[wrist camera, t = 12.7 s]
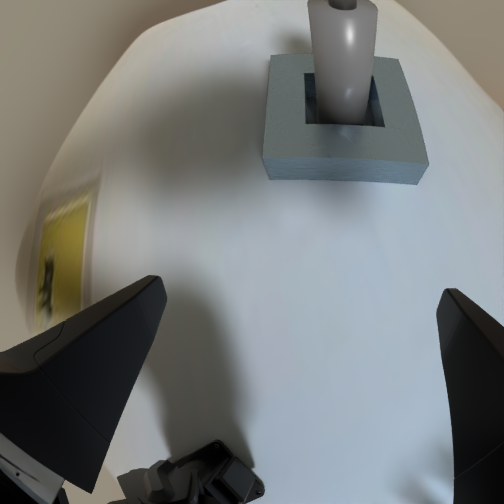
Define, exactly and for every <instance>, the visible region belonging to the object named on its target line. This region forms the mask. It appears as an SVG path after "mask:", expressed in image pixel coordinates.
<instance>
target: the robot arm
mask: <svg viewBox="0 0 504 504" xmlns="http://www.w3.org/2000/svg"><path fill="white" fill-rule="evenodd" d="M166 303H167V294H166V291H165V288H164V285H163V281H162V279H161V277H160V276H155V275H148V276H146V277H144V278H142V279H140V280H138V281H136V282H135V283H133V284H131V285H129V286H127V287H125V288H123V289H122V290H120V291H118V292H116V293H114V294H112V295H110V296H109V297H107V298H105V299H103V300H101V301H99V302H97V303H96V304H94V305H92V306H90V307H88V308H87V309H85V310H83V311H81V312H79V313H77V314H76V315H74V316H72V317H70V318H68V319H67V320H66V321H63V322H61V323H59V324H58V325H56V326H54V327H52V328H50V329H49V330H47V331H45V332H43V333H41V334H39V335H37V336H35V337H33V338H31V339H29V340H27V341H25V342H23V343H21V344H18V345H17V346H14V347H12V348H10V349H8V350H6V351H3V352H0V504H69V502H68V499H67V496H66V492H65V489H64V488H62V485H63V483H64V481H65V480H67V481H69V482H70V483H72V484H74V485H75V486H77V487H79V488H81V489H83V490H85V491H86V492H88V493H90V494H92V492H93V489H94V487H95V484H96V481H97V478H98V475H99V472H100V470H101V467H102V464H103V462H104V459H105V456H106V454H107V451H108V448H109V446H110V443H111V440H112V438H113V435H114V433H115V430H116V428H117V425H118V422H119V420H120V418H121V415H122V413H123V410H124V408H125V405H126V403H127V400H128V398H129V396H130V393H131V391H132V389H133V386H134V384H135V382H136V379H137V377H138V375H139V372H140V370H141V368H142V365H143V363H144V361H145V359H146V356H147V354H148V352H149V350H150V348H151V345H152V343H153V341H154V338H155V335H156V332H157V329H158V326H159V323H160V320H161V317H162V314H163V312H164V309H165V306H166ZM436 317H437V324H438V332H439V341H440V350H441V358H442V364H443V369H444V375H445V381H446V387H447V393H448V401H449V408H450V417H451V426H452V438H453V455H454V499H453V504H504V327H503V326H502V325H501V324H500V323H499V322H498V321H496V320H495V319H494V318H493V317H492V316H490V315H489V314H488V313H487V312H486V311H484V310H483V309H482V308H481V307H479V306H478V305H477V304H476V303H474V302H473V301H472V300H471V299H469V298H468V297H467V296H466V295H464V294H463V293H462V292H460V291H459V290H458V289H456V288H446V289H445V290H444V291H443V293H442V296H441V299H440V302H439V305H438V308H437V312H436ZM215 444H217V445H219V448H217V447H215ZM117 479H118V482H119V484H120V486H121V489H122V491H123V493H124V495H125V497H126V499H123V500H118V501H112V502H109V503H108V504H246V503H248V502H251V501H253V500H255V499H257V498H259V497H262V496H263V495H264V493H265V489H264V488H263V487H262V486H261V485H260V484H259V483H258V482H257V481H256V480H255V476H254V475H253V474H252V473H251V472H250V471H249V470H248V469H247V467H246V466H245V465H244V464H243V463H242V462H241V461H240V460H239V459H238V457H235V456H233V454H232V453H231V452H230V451H229V450H228V449H227V447H226V446H225V445H224V444H223V443H222V442H221V441H219V440H215V441H213V442H211V443H209V444H207V445H206V446H204V447H202V448H200V449H198V450H196V451H194V452H193V453H191V454H189V455H187V456H185V457H183V458H181V459H179V460H177V461H175V462H173V463H170V462H169V461H168V460H159V461H158V462H156V463H155V464H154V465H152V466H151V467H150V468H149V469H146V468H139V469H134V470H131V471H130V472H128V473H126V474H123V475H120V476H118V477H117ZM257 490H258V491H261V493H258V492H256V491H257Z"/></svg>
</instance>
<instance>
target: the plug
mask: <svg viewBox="0 0 504 504" xmlns="http://www.w3.org/2000/svg"><path fill="white" fill-rule="evenodd" d="M307 4H308V12H309V21H310V30H311V39H312V50H313V61H314V74H315V88H316V105H317V123H318V124H337V125H360V126H364V123H365V117H366V111H367V105H368V98H369V91H370V84H371V76H372V68H373V59H374V50H375V40H376V28H377V15H378V9H377V7H376V6H375V4H373V3H372V2H371V1H369V0H308V3H307Z"/></svg>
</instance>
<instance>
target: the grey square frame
mask: <svg viewBox="0 0 504 504" xmlns="http://www.w3.org/2000/svg"><path fill="white" fill-rule="evenodd" d="M306 97H316V88H315V74H314V61H313V54H282V55H271V59H270V71H269V83H268V95H267V107H266V119H265V130H264V142H263V154H262V159H263V162H264V165H265V168H266V171H267V174H268V177H269V179H310V180H347V181H369V182H386V183H400V184H413V185H417V184H418V182H419V181H420V179H421V177H422V176H423V174H424V172H425V171H426V169H427V167H428V166H429V161H428V156H427V152H426V148H425V143H424V139H423V135H422V131H421V127H420V124H419V120H418V116H417V113H416V110H415V106H414V103H413V100H412V97H411V94H410V91H409V88H408V85H407V82H406V79H405V76H404V73H403V71H402V68H401V65H400V63H399V60H398V59H393V58H385V57H375V56H374V59H373V68H372V76H371V84H370V91H369V98H368V100H370V104H371V109H372V114H373V120H374V125H375V126H360V125H337V124H307V98H306Z"/></svg>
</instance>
